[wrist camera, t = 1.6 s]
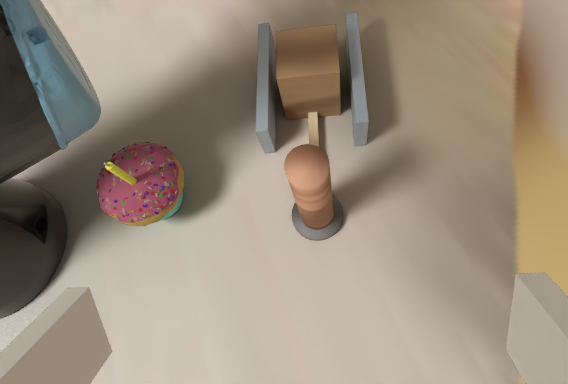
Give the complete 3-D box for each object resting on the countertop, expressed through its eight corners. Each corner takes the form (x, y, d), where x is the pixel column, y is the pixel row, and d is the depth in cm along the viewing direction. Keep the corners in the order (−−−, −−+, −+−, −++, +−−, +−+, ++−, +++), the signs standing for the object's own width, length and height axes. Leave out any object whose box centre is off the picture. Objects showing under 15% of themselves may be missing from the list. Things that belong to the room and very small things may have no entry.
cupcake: (213, 203, 40) (163, 147, 29) (147, 254, 38) (69, 218, 27) (172, 150, 43) (114, 83, 32) (111, 196, 42) (27, 143, 31)
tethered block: (349, 239, 36) (351, 193, 25) (287, 241, 37) (264, 199, 26) (337, 71, 44) (334, -18, 33) (286, 76, 44) (267, -8, 34)
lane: (366, 145, 39) (368, 121, 35) (264, 153, 41) (255, 131, 37) (355, 42, 45) (356, 11, 41) (266, 52, 46) (258, 24, 42)
